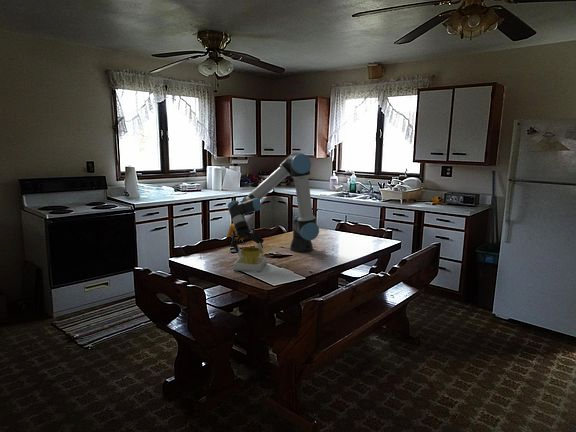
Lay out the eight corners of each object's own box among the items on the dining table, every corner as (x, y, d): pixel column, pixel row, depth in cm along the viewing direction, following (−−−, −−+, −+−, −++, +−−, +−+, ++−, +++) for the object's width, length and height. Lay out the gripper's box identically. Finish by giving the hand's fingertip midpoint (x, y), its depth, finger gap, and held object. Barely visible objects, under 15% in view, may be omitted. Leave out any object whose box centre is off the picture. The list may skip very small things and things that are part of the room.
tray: (266, 264, 237) (266, 257, 236) (260, 272, 222) (260, 265, 221) (240, 262, 239) (240, 255, 239) (233, 270, 224) (233, 263, 223)
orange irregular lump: (232, 242, 287) (232, 226, 285) (226, 240, 292) (226, 224, 290) (244, 240, 293) (244, 224, 291) (239, 238, 299) (239, 222, 297)
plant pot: (252, 269, 224) (252, 252, 222) (238, 266, 229) (237, 249, 227) (263, 264, 232) (263, 248, 231) (249, 261, 238) (249, 245, 236)
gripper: (257, 225, 247) (268, 255, 237) (219, 229, 234) (229, 261, 224) (261, 218, 241) (273, 248, 231) (222, 222, 228) (233, 254, 218)
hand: (251, 255), depth 228 cm, fingers open, 13 cm apart
